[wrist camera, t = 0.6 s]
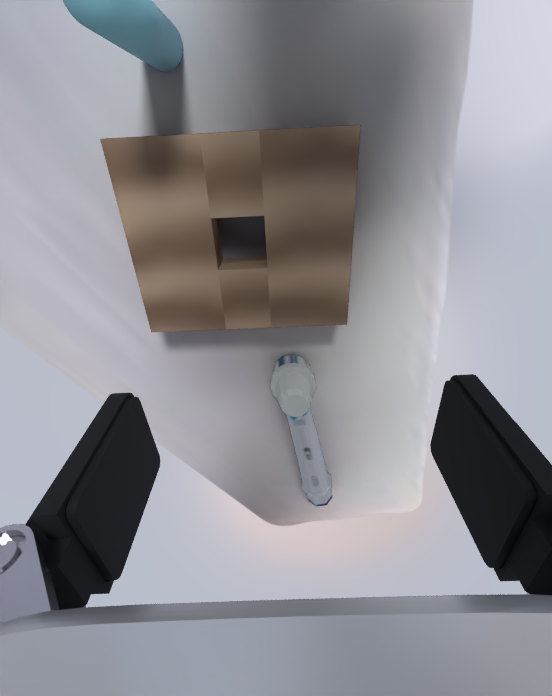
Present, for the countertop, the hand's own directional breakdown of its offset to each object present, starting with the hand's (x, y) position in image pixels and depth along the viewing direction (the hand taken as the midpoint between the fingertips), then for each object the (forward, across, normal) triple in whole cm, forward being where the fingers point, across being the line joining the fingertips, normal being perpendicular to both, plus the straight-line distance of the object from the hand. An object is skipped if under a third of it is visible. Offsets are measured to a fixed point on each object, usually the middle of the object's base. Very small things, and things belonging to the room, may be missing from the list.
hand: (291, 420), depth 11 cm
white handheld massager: (+27, -2, +27) cm, 39 cm away
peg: (+27, +8, -14) cm, 32 cm away
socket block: (+27, +4, 0) cm, 27 cm away
